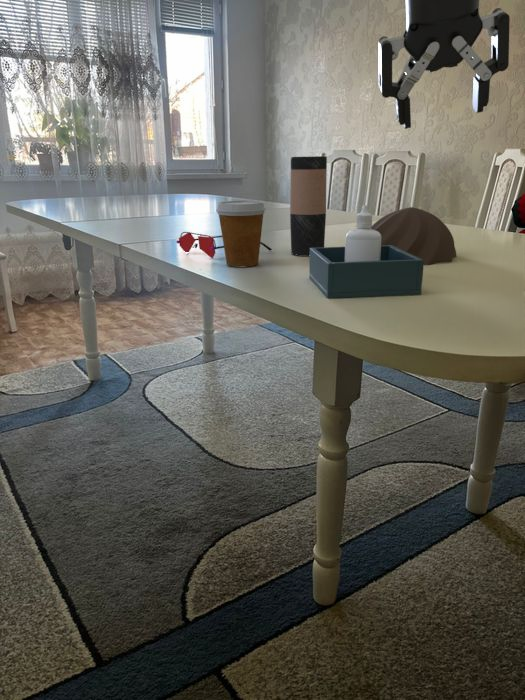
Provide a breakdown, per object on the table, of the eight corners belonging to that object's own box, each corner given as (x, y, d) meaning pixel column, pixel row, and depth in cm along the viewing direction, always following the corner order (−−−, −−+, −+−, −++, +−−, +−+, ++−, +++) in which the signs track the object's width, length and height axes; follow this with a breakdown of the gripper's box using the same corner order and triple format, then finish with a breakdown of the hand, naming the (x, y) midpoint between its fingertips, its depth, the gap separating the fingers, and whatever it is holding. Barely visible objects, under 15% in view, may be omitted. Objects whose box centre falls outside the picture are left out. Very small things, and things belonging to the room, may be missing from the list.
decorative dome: (463, 265, 103) (469, 212, 100) (357, 263, 107) (360, 211, 104) (451, 249, 121) (455, 203, 118) (361, 247, 125) (363, 202, 121)
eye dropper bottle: (369, 285, 85) (373, 207, 81) (339, 281, 89) (342, 205, 85) (383, 281, 88) (388, 205, 84) (354, 276, 92) (357, 203, 88)
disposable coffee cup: (228, 271, 102) (226, 205, 98) (211, 262, 110) (209, 201, 106) (274, 266, 106) (273, 202, 101) (254, 258, 114) (253, 199, 110)
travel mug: (332, 253, 119) (334, 156, 112) (309, 257, 114) (310, 156, 107) (305, 249, 124) (307, 156, 117) (282, 253, 119) (282, 157, 112)
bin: (390, 275, 96) (391, 245, 95) (421, 294, 83) (424, 260, 81) (309, 278, 95) (309, 247, 93) (327, 298, 81) (328, 263, 80)
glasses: (176, 253, 121) (174, 230, 120) (234, 244, 132) (233, 223, 130) (212, 261, 112) (211, 236, 110) (272, 251, 122) (272, 228, 120)
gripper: (503, -62, 57) (492, 93, 68) (367, -26, 60) (379, 119, 71) (527, -49, 52) (511, 117, 63) (377, -11, 54) (388, 144, 65)
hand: (441, 118), depth 67 cm, fingers open, 8 cm apart
